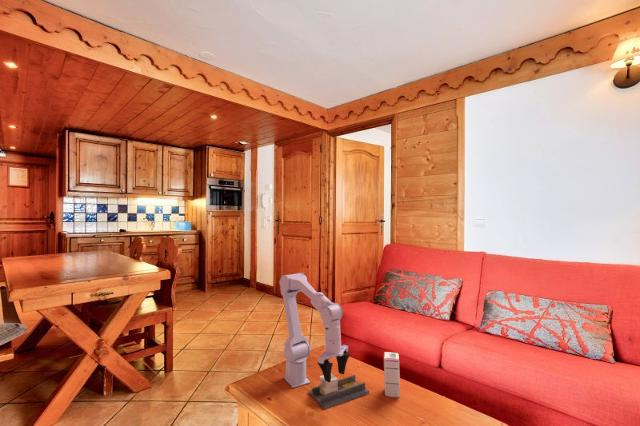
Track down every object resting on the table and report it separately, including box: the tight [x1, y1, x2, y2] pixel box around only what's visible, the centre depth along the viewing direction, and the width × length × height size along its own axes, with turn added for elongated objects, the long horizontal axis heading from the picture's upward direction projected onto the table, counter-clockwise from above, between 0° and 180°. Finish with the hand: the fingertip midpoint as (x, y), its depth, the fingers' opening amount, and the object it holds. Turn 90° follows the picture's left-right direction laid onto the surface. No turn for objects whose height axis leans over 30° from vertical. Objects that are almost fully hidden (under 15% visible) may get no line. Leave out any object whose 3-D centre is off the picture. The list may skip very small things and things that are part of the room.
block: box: [319, 373, 339, 395], centre depth 119 cm, size 5×5×6 cm
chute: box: [308, 374, 370, 410], centre depth 121 cm, size 12×20×3 cm, turn 119°
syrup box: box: [383, 351, 401, 398], centre depth 121 cm, size 6×6×14 cm
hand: (334, 377), depth 113 cm, fingers open, 7 cm apart
